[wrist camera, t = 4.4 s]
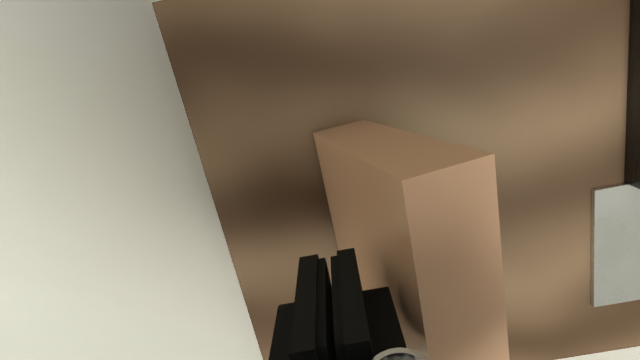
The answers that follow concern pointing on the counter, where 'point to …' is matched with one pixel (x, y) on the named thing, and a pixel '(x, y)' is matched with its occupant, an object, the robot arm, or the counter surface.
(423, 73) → the board
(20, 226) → the counter surface
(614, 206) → the turner
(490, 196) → the tile
